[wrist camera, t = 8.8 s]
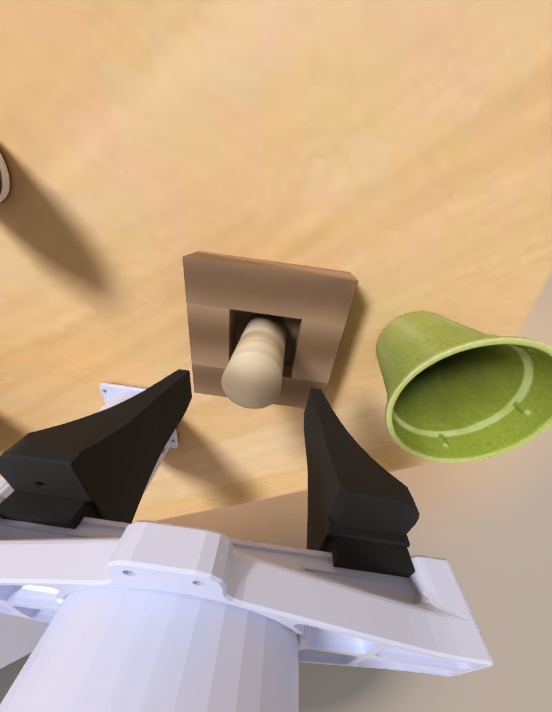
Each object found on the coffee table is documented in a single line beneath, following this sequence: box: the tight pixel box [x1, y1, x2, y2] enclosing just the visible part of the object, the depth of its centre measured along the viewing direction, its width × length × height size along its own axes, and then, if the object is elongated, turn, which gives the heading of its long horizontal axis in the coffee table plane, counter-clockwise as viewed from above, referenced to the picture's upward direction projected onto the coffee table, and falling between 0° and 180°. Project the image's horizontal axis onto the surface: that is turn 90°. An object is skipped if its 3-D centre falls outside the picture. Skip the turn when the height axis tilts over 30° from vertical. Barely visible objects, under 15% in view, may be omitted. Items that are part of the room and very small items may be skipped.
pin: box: [221, 313, 286, 409], centre depth 17 cm, size 4×4×8 cm
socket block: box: [183, 251, 358, 408], centre depth 20 cm, size 12×12×3 cm
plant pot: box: [376, 312, 552, 463], centre depth 17 cm, size 9×9×9 cm
